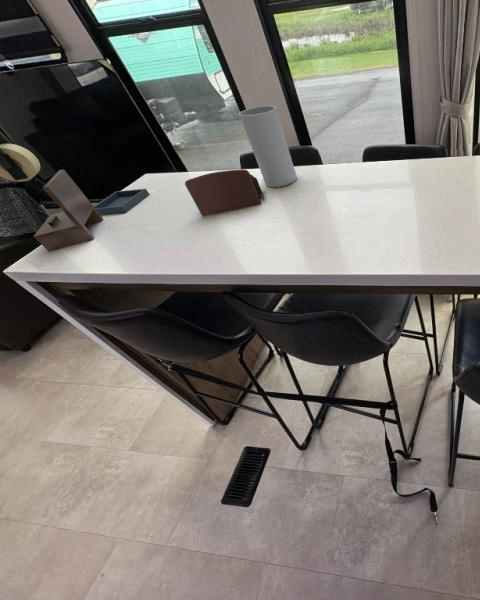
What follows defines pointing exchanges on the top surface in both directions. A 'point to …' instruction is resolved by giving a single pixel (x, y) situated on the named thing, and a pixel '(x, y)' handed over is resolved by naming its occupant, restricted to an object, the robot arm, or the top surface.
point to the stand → (67, 215)
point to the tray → (121, 201)
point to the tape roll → (20, 161)
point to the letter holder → (224, 191)
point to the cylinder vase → (269, 145)
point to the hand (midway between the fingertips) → (25, 175)
